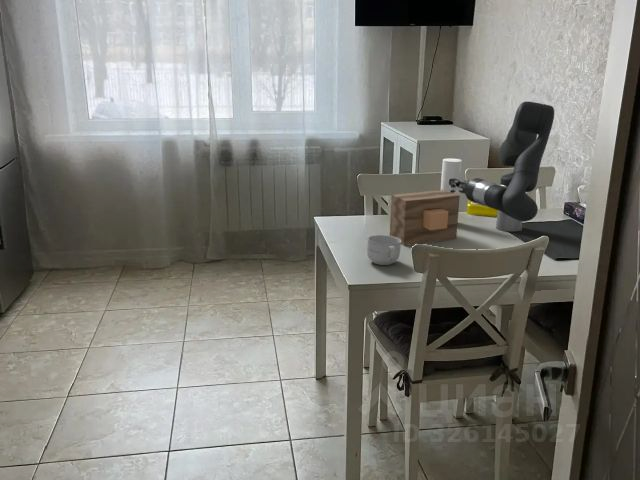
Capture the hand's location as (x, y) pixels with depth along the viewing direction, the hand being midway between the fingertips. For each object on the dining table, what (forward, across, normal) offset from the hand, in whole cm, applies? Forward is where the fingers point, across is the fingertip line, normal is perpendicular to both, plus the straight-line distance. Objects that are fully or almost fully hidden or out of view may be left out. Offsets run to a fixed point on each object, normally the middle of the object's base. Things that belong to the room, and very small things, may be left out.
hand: (451, 181), depth 206 cm
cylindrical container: (+29, -20, +24) cm, 43 cm away
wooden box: (+15, 0, +24) cm, 28 cm away
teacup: (-4, +26, +24) cm, 36 cm away
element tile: (+38, -45, +25) cm, 64 cm away
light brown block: (+9, 0, +18) cm, 20 cm away
